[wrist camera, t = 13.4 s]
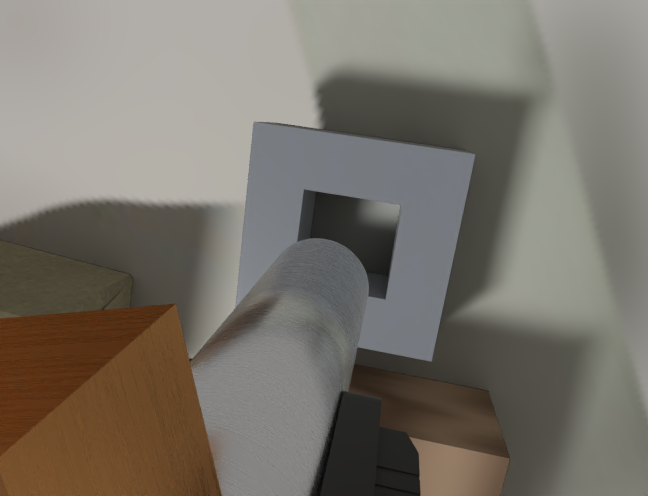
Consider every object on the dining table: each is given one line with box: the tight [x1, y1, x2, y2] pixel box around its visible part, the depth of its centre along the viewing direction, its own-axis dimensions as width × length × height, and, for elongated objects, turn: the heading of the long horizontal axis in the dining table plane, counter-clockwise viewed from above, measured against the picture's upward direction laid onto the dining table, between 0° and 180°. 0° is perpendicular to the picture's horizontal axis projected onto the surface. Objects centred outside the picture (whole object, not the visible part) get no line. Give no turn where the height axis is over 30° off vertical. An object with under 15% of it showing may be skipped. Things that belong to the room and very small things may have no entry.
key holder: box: [235, 122, 476, 362], centre depth 25 cm, size 10×10×4 cm
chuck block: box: [349, 365, 510, 496], centre depth 28 cm, size 12×12×6 cm
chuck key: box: [0, 238, 369, 496], centre depth 9 cm, size 7×3×12 cm, turn 9°
